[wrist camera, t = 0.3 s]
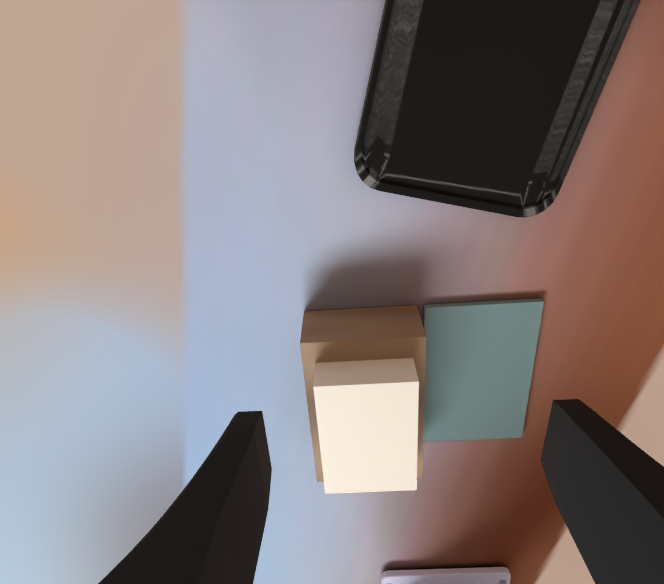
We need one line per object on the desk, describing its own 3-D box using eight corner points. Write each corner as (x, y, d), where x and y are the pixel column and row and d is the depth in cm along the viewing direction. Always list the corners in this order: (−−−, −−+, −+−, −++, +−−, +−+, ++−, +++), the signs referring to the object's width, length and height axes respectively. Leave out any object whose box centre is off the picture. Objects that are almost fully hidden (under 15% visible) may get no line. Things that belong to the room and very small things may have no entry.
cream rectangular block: (411, 462, 22) (416, 490, 21) (326, 466, 22) (325, 493, 21) (413, 357, 19) (419, 381, 18) (314, 362, 19) (313, 386, 18)
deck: (414, 438, 25) (422, 477, 22) (318, 442, 25) (317, 481, 23) (416, 305, 21) (426, 336, 19) (304, 311, 21) (300, 343, 19)
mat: (519, 433, 24) (521, 437, 24) (420, 437, 25) (421, 442, 24) (541, 298, 21) (544, 301, 20) (423, 304, 21) (424, 308, 21)
